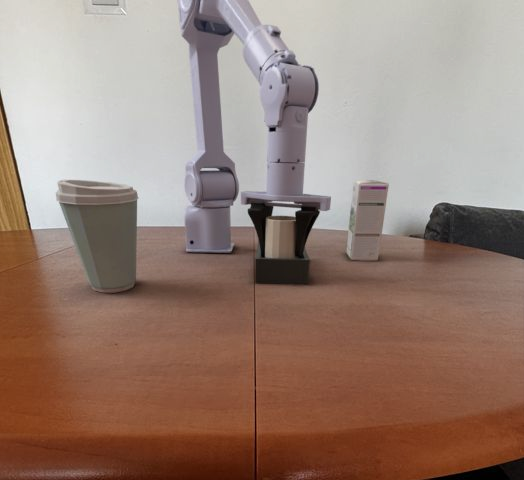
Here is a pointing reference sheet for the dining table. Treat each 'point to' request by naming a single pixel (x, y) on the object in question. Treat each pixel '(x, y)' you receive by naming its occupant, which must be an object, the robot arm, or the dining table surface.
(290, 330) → the dining table surface
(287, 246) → the paper cup
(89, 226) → the disposable coffee cup
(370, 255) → the syrup box
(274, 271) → the cup holder
